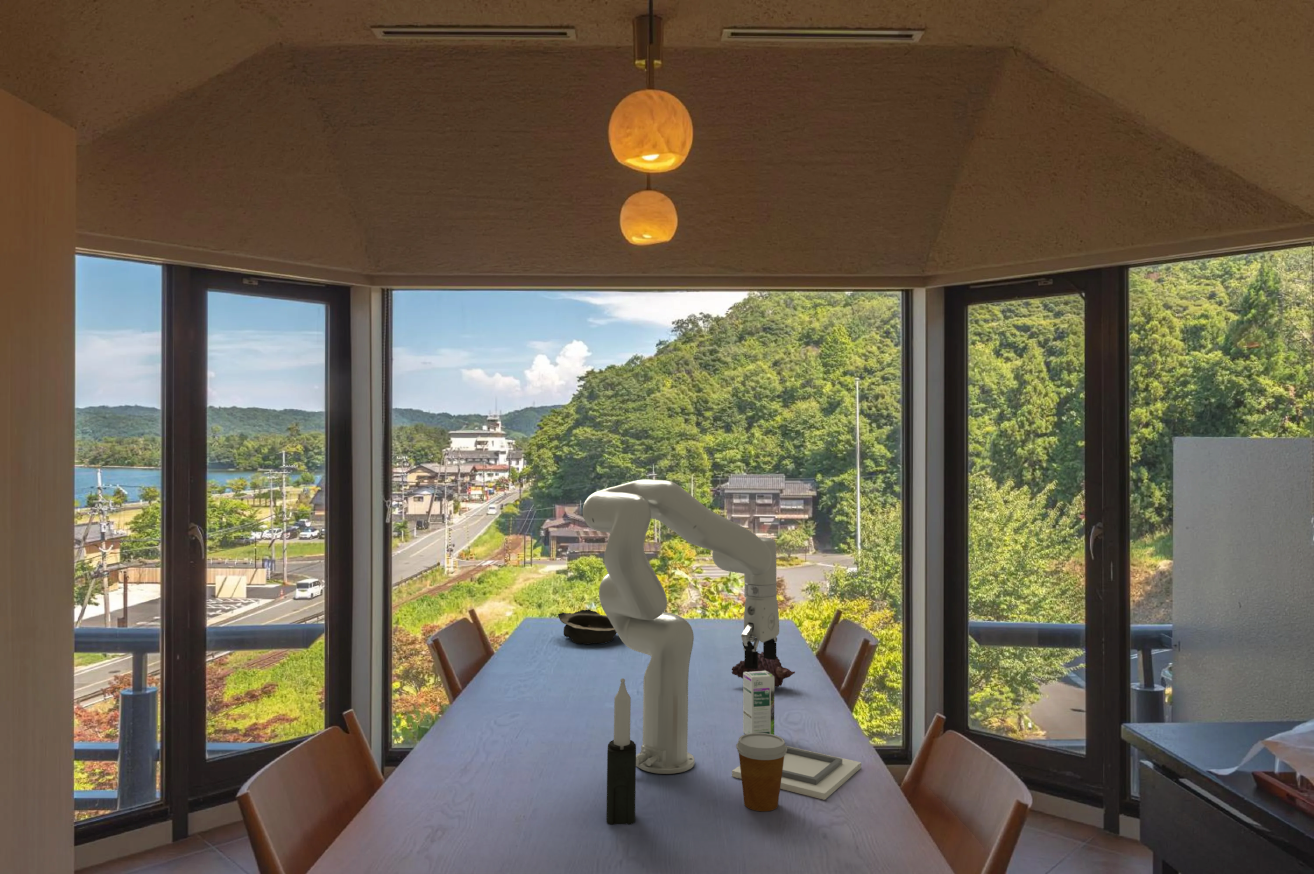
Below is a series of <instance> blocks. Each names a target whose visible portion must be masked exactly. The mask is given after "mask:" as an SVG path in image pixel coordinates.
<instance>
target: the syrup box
mask: <svg viewBox="0 0 1314 874" xmlns="http://www.w3.org/2000/svg"><path fill="white" fill-rule="evenodd" d="M742 680H743V681H742V688H743V689H742V694H743V695H742V697H743V698H742V706H743V707H742V708H743V710H742V715H743V716H742V718H743V719H742V725H743V726H742V733H743V734H744V735H745V734H749V733H767V734H773V735H775V688H774V676H773V675H772V674H771V673H769V672H767V671H756V672H743V679H742Z"/></svg>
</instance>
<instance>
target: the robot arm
mask: <svg viewBox="0 0 1314 874" xmlns="http://www.w3.org/2000/svg"><path fill="white" fill-rule="evenodd" d="M582 506H583V507H582V517H583V520H584V522H585V524H586V525H587V527H589V528H590V529H592V530H594V531H597V532H600V533H601V532H602V533H610V534H609V536H608V539H607V543H606V547H605V551H604V556H603V557H604V559H603V561H604V566H605V568H606V569H605V570H606V572H607V573H606V575H605V576H604V577H603V578H602V580H601V582H600V585H599V590H598V596H599V602H600V606H601V607H602V609H603V611H604V613H605V615H606V616H607V617H608V619H609V620H610V622H611V624H612V625H613V627H614V629H615V630H616V632H617V633H616V635H618V637H619V638H620V640H621V642H622V643H623V644H624V645H625V646H626V647H627V648H628V649H631V650H633V651H635V652H638V653H641V654H644V655H648V656H649V657H650V660H649V663H648V665H647V667H646V669H645V672H644V675H643V685H642V686H643V688H642V690H643V693H642V695H643V697H642V698H643V699H642V701H643V702H642V745H641V746H640V752H639V753H636V768H638V769H641V770H643V771H645V772H648V773H652V774H660V775H674V774H675V775H676V774H680V773H681V774H682V773H684V772H687V771H689V770H691V769H692V768H693V767H695V765H696V764H695V761H696V759H695V756H694V755H693V754H691V753H690V752H688V741H689V740H688V739H689V738H688V737H689V736H688V734H689V733H688V732H689V731H688V730H689V726H688V725H689V724H688V722H689V672H690V671H689V670H690V662H691V656H692V651H693V646H694V639H695V635H694V631H693V628H692V626H691V624H690V623H689V622H688V621H687V620H686V619H685V618H684V617H682V616H680V615H678V614H675V613H671V612H666V609H667V605H668V599H667V594H666V591H665V589H664V587H663V585H662V583H661V581H660V579H659V577H658V576H657V574H656V572H655V571H654V569H653V566H652V565H651V563H650V562H649V561H650V560H649V559H648V557H647V555H646V553H645V541H646V540H645V539H646V534H647V532H648V529H649V526H650V522H651V519H652V520H656V521H659V522H660V523H662V524H663V525H665V526H666V527H667V528H669V529H670V530H671V531H673V532H674V533H676V534H677V535H678V536H679V537H681V538H682V539H683V540H685V541H686V542H687V543H689V544H691V545H694V546H696V547H699V548H702V549H706V550H709V551H712V557H711V558H712V561H713V562H714V564H715V566H717V568H719V569H720V570H723V571H725V572H730V573H731V572H732V573H738V574H744V576H743V577H744V578H743V579H744V583H743V584H744V592H743V593H744V594H743V595H744V598H745V602H744V612H743V613H744V614H743V631H742V633H741V634H740V635H741V636H740V637H741V641H742V643H741V644H742V647H743V651H744V660H745V667H746V668H751V669H757V668H758V653H759V651H757V650H758V646H759V642H760V643H763V645H762V648H763V651H762V652H763V657H764V658H765V659H772V660H775V659H776V656H777V642H778V636H779V634H780V616H779V604H778V596H777V586H778V585H777V584H778V583H777V542H776V541H775V540H774V539H773V538H770V537H765V536H764V537H763V536H762V537H760V536H758V535H756V534H755V533H753V531H751V530H749V529H748V528H746V527H745V526H742V525H740V524H738V523H736V522H734V521H732V520H730V519H728V518H726V517H724V516H723V515H720V514H718V513H716V512H713V511H712V510H711V509H709V508H708V507H707V506H706V505H704V504H702V503H701V502H700V500H698V499H696V498H695V497H694V496H693V495H692V494H690V493H689V492H688V491H687V490H685V489H684V488H683V487H681V486H680V485H679V484H677V483H675V482H674V481H671V480H665V479H645V478H644V479H643V478H642V479H638V480H633V481H630V482H625V483H622V484H618V485H615V486H611V487H608V488H604V489H600V490H598V491H597V490H596V491H595V492H593V493H591V494H590V495H589V496H588V497H587V498H586V499H585V501H584V503H583V505H582Z"/></svg>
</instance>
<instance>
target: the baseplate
mask: <svg viewBox="0 0 1314 874" xmlns="http://www.w3.org/2000/svg"><path fill="white" fill-rule="evenodd" d="M785 746H786V747H787V752H786V754H785V756H784V763H783V770H782V778H781V786H780V790H784V791H788V792H793V793H794V794H795V793H796V794H800V795H804V796H808V797H810V798H811V797H812V798H816V799H820V800H824V801H825V800H827V798H829V797H830V796H831V795H832V794H833V793H834V792H836V790H838V789H839V788H840V787H841V786H843V784H845V783H846V782H847V781H848V780H849V779H850V778H852V777H853V776H854V775H856V773H857V772H858V771H860V770H861V769H862V762H861V761H856V760H854V759H853V760H852V759H847V758H843V757H839V756H838V757H837V756H833V755H828V754H825V753H820V752H815V751H810V750H807V749H802V748H799V747H793V746H788V745H785ZM731 777H732V778H737V779H740V780H742V778H741V769H740V765H738V766H737V767H735V768H734V769H732V770H731Z"/></svg>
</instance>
